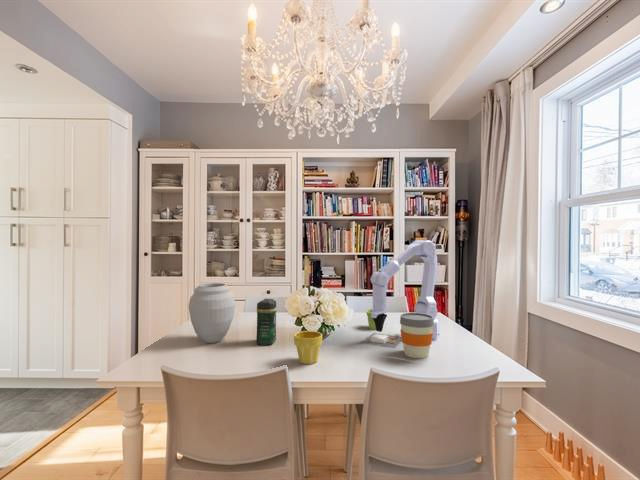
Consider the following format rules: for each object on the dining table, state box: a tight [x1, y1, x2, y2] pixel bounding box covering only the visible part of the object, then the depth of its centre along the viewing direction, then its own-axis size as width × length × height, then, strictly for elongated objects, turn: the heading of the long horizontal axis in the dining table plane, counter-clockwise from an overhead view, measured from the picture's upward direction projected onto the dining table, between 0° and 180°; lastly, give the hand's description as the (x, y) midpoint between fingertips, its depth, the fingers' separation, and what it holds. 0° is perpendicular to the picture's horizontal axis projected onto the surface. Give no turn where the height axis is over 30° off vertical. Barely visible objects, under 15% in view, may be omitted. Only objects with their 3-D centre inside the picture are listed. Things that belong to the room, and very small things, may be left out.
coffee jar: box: [256, 298, 277, 346], centre depth 148 cm, size 10×8×19 cm
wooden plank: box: [386, 333, 400, 344], centre depth 150 cm, size 11×3×1 cm, turn 151°
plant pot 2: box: [365, 309, 385, 331], centre depth 170 cm, size 9×9×9 cm
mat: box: [360, 332, 403, 349], centre depth 150 cm, size 15×17×1 cm
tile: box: [371, 333, 389, 344], centre depth 149 cm, size 6×2×6 cm
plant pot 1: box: [293, 330, 323, 365], centre depth 126 cm, size 10×10×10 cm
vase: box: [188, 282, 236, 344], centre depth 150 cm, size 20×20×24 cm
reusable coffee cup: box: [399, 312, 434, 359], centre depth 132 cm, size 12×13×15 cm
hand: (379, 331), depth 148 cm, fingers closed
